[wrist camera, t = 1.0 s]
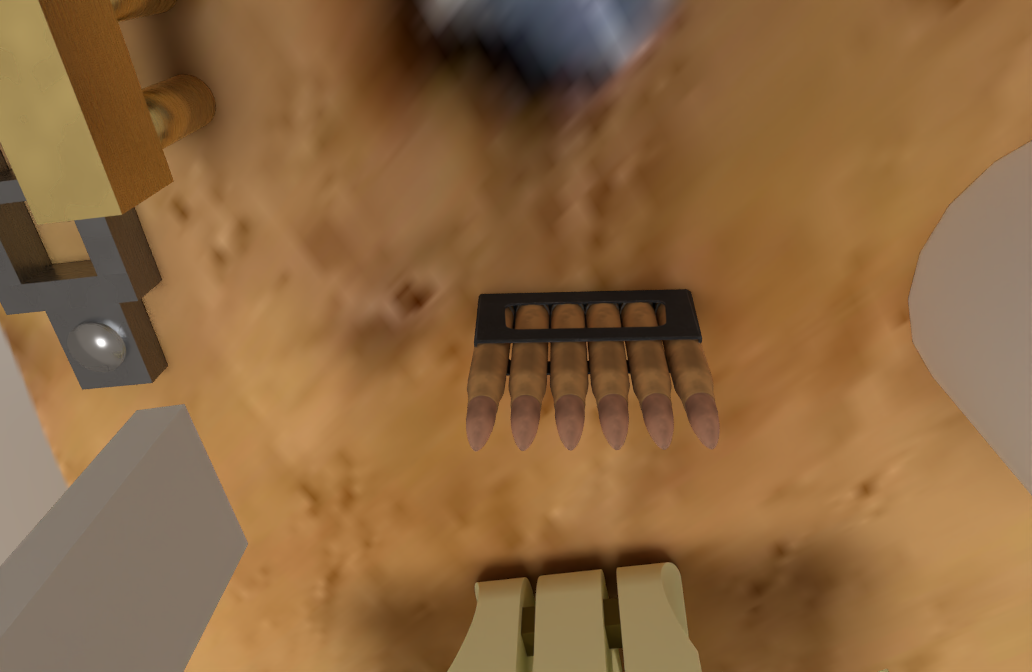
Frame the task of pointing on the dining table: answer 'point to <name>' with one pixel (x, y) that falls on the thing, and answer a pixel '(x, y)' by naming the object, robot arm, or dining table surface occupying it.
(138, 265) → the chain joint
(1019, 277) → the canister
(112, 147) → the tan piece
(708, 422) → the ammunition clip
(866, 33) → the dining table surface
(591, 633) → the slatted curved stool
